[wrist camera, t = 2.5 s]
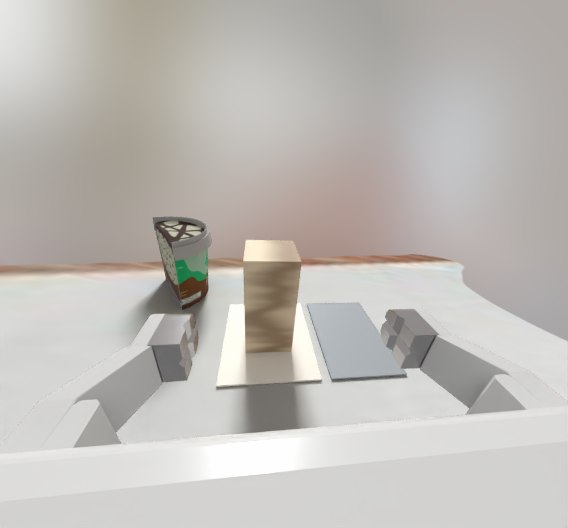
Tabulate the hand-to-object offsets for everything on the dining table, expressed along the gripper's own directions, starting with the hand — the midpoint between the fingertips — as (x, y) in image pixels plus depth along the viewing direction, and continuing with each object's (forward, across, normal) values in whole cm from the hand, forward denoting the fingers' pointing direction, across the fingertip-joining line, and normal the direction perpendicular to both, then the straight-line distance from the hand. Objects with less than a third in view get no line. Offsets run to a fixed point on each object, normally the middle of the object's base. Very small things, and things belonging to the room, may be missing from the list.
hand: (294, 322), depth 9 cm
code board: (+12, +5, -13) cm, 19 cm away
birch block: (+12, 0, -13) cm, 18 cm away
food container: (+23, -11, -14) cm, 29 cm away
